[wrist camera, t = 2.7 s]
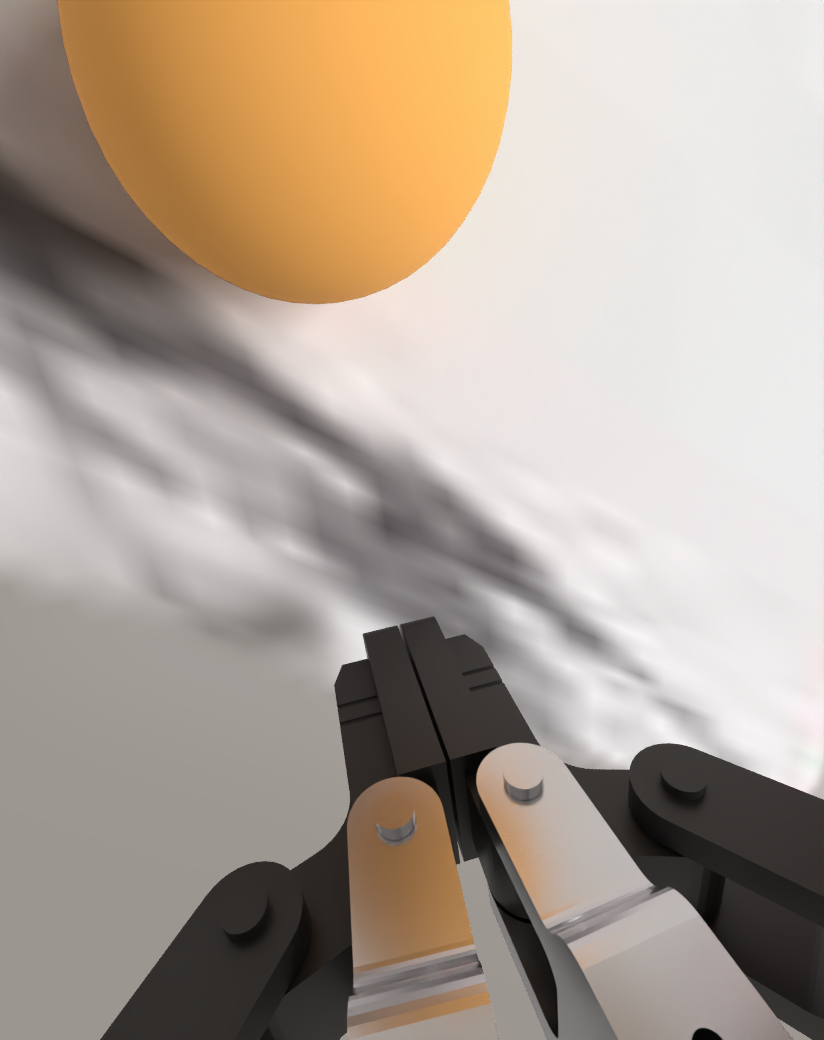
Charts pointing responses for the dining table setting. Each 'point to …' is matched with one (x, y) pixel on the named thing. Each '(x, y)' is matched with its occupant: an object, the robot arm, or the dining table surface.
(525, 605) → the dining table surface
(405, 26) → the ball
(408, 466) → the dining table surface
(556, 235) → the dining table surface
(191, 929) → the robot arm
